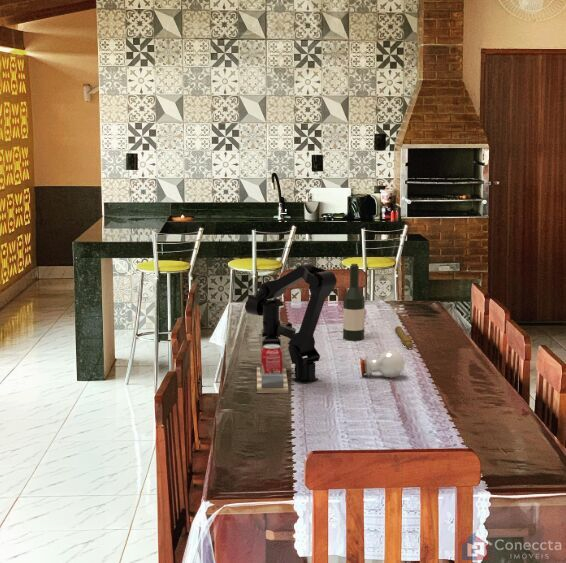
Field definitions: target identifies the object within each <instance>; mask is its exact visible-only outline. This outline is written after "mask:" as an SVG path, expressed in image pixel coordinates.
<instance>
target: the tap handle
mask: <svg viewBox="0 0 566 563" xmlns="http://www.w3.org/2000/svg"><path fill="white" fill-rule="evenodd" d="M394 332H395V333H396V335H397V334H398V335H397V336H398V337H399V338H400V343H401V342H402V343H401V345H402V344H403V345H404V346H406V348H405V349H407V348H411V349H412V348H413V346H414V345H413V339H412V338H411V336H410V335H408V334H407V335H406V333H405V331H404V330H403V328H402V327H401V326H400V325H397V326H396V327H395V328H394ZM403 345H402V346H403Z"/></svg>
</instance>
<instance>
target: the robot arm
mask: <svg viewBox="0 0 566 563" xmlns="http://www.w3.org/2000/svg"><path fill="white" fill-rule="evenodd" d="M300 281H304V282H305V283H306V284H308V290H309V292H310V293H309V294H310V297H309V299H308V303H307V307H306V309H305V312H304V315H303V319H302V320H301V324H300V328H299V331H298V332H297V329H296V328H295V327H294V326H293V323H292V322H290V321H288V322H287V323H285V324H282V323H281V319H280V307H282V306H283V307H284V305H285V304H284V302H283V301H282V300H281V299H280V297H282V295H284V294H285V293H286V290H287V289H289V288H290V287H292V286H293V285H295V284H297V283H298V282H300ZM337 281H338V280H337V278H336V274H335V273H334V272H333V271H331V270H326V269H324V268H321V267H317V266H315V265H313V264H310V263H305V264H299V265H298V266H297V267H296V268H294V269H292V270H290V272H288V273H286V274H284V275H281V277H278V278H277V279H273V280H269V281H266V282H263V283H261V284H260V286H259V289H258V291H257V293H256V294H249V296H248V299H247V300H246V301H245V305H244V309H245V312H246V313H247V314H250V315H255V316H259V317H260V316H261V317H262V332H261V333H262V334H261V336H262V340H261V341H262V343H261V344H262V346H261V347H262V348H263V346H264V345H266V344H278V345H280V346H282V345H281V339H280V338H281V336H282V337H284V338H285V337H286V338H288V339H289V341H288V343H287V345H288V348H287V349H288V353H289V357H290V360H291V364H293V365H294V377H293V378H292V381H294V382H295V381H296V382H299V383H304V384H309V383H311V382H316V381H318V380H319V378H318V377H316V362H319V361H320V358H321V355H320V353H319V351H318V350H317V349H316V347H315V345H316V341H315V337H314V334H315V332H316V328H317V325H318V322H319V319H320V316H321V314H322V310H323V307H324V303H325V302H326V301H325V300H326V299H327V298H328V296H329V295H331V293H333V291H334V289H335V287H336V285H337V283H338V282H337ZM276 298H277V299H276ZM273 299H274V300H273Z"/></svg>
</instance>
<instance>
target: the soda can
mask: <svg viewBox="0 0 566 563" xmlns="http://www.w3.org/2000/svg"><path fill="white" fill-rule="evenodd" d="M281 346H282V345H281ZM281 346H280V345H278V344H266V345H264V346H263V347H262V349H261V353H260V355H261V356H260V359H261V360H260V363H261V364H260V365H261V376H262V374H283V367H284V364H283V363H284V362H283V360H284V359H283V356H284V355H283V350H282V348H281Z"/></svg>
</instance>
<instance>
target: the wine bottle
mask: <svg viewBox="0 0 566 563" xmlns="http://www.w3.org/2000/svg"><path fill="white" fill-rule="evenodd" d="M359 269H360V268H359V265H358V263H351V265H350V266H349V288H348V290H347V291H346V292H345V294H344V296H343V301H342V302H343V304H342V305H343V306H342V307H343V312H342V313H343V317H342V318H343V319H342V322H343V324H342V330H343V331H342V332H343V333H342V339H343V340H345V341H347V342H348V341H350V342H358V341H363V340H364V339H365V309H366V308H365V300H366V299H365V298H366V297H365V296H364V294H363V293H362V290H361V289H360V286H359V285H360V284H359V278H360V277H359V276H360V275H359V274H360V273H359V272H360V270H359Z"/></svg>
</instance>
